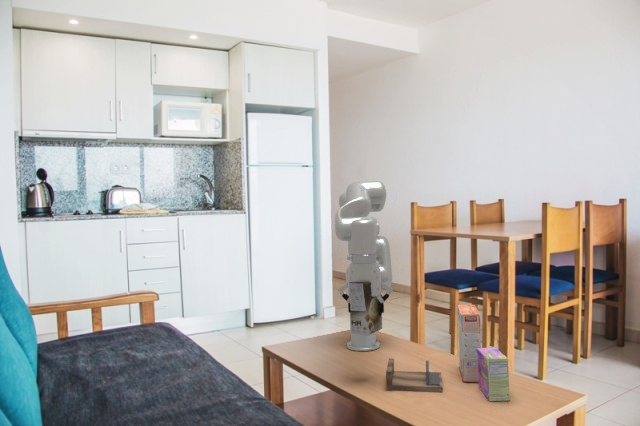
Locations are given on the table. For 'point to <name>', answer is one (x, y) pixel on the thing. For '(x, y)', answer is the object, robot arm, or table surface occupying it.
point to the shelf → (409, 380)
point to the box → (493, 374)
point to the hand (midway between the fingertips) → (366, 314)
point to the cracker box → (469, 342)
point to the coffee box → (364, 309)
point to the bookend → (432, 376)
